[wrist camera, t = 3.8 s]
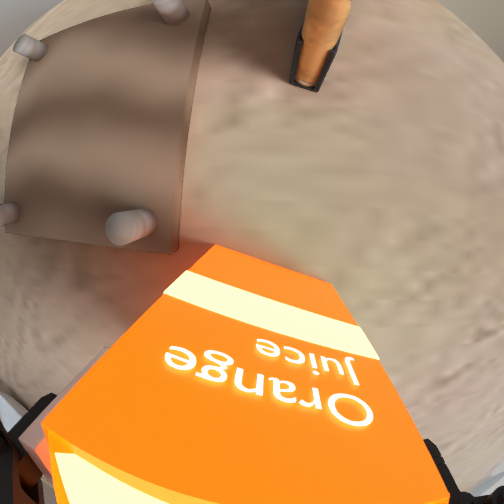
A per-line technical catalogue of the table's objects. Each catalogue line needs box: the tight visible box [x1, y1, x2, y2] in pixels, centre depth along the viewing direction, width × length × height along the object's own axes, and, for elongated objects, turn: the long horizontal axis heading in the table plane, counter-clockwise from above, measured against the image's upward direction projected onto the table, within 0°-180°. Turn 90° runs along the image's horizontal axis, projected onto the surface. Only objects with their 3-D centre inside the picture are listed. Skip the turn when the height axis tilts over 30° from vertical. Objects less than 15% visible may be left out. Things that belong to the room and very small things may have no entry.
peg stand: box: [0, 0, 211, 255], centre depth 13 cm, size 17×16×4 cm
